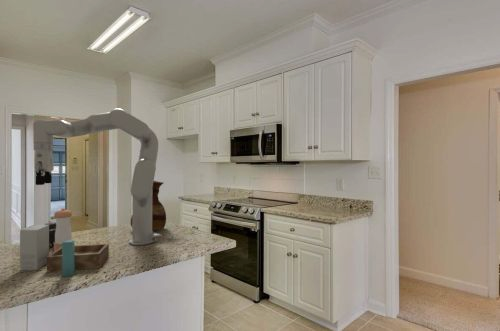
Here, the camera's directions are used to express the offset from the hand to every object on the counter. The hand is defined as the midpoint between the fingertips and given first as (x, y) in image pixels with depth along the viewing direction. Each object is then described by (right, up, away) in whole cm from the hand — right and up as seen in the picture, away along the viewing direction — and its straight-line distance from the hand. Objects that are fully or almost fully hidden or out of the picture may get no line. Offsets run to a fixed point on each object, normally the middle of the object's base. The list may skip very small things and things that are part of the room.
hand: (43, 184), depth 137 cm
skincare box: (+12, -31, -22) cm, 40 cm away
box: (+28, -31, -19) cm, 45 cm away
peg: (+30, -31, -30) cm, 53 cm away
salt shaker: (+9, -31, 0) cm, 32 cm away
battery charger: (+1, -31, +4) cm, 31 cm away
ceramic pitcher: (+36, -30, +38) cm, 60 cm away
